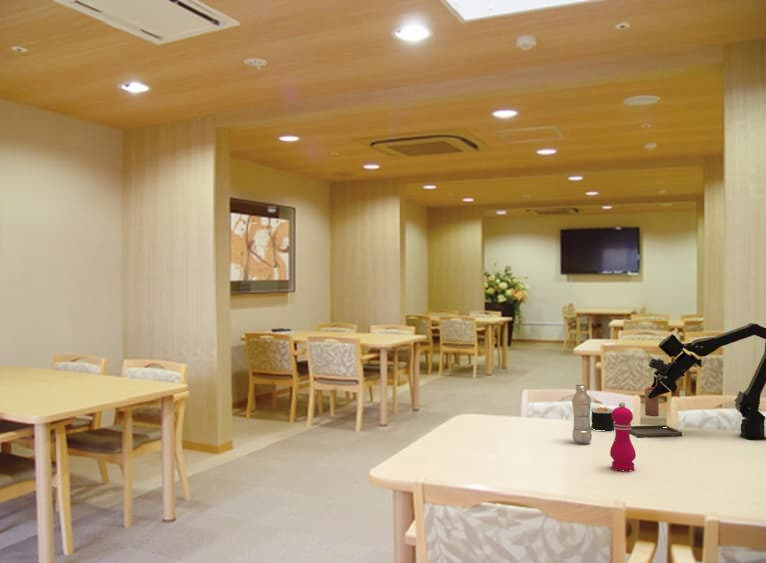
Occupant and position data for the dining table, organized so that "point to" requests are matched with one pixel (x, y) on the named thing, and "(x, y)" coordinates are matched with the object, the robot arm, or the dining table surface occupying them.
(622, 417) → the pepper mill
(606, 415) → the sushi
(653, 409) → the soy sauce bottle
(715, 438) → the dining table surface
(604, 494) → the dining table surface
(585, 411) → the plastic bottle
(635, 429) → the tray
